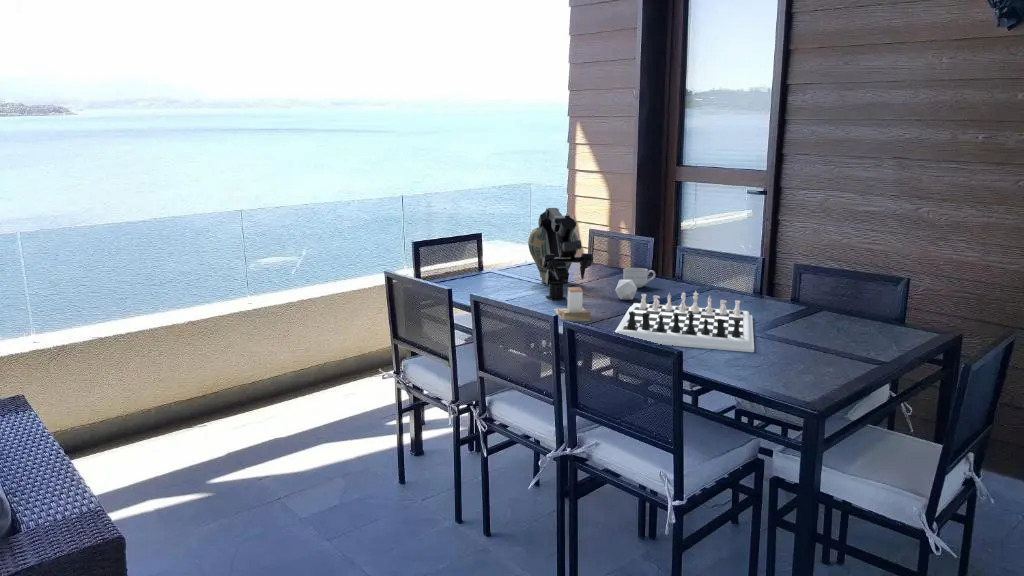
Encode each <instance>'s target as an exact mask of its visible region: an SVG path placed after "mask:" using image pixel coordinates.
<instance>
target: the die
mask: <svg viewBox="0 0 1024 576" xmlns="http://www.w3.org/2000/svg"><path fill="white" fill-rule="evenodd" d="M637 290H638V288H637V287H636V286H635V284H634V282H633V281H632V280H623V279H619V280H618V282H617V286H616V288H615V290H614V291H615V292H616V295H617V296H618V299H619V300H633V299H634V297H635V295H636V293H637Z"/></svg>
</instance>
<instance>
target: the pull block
mask: <svg viewBox="0 0 1024 576" xmlns="http://www.w3.org/2000/svg"><path fill="white" fill-rule="evenodd" d="M583 289H584V288H582V287H581V286H568V287H567V307H566V309H567V313H568V312H582V308H583V293H584V292H583V291H584V290H583Z"/></svg>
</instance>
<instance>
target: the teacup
mask: <svg viewBox="0 0 1024 576" xmlns="http://www.w3.org/2000/svg"><path fill="white" fill-rule="evenodd" d="M622 270H623V274H622V275H623V279H622V280H632V281H633V282H634V284H635V286H636V287H637V289H638V288H644V286H645V285H647V284H649V282H650V281H652V280H653V279H655V277H656V271H655V270H652V269H651V270H649V269H647V268H643V267H642V268H641V267H628V268H627V267H626V268H623V269H622ZM650 273H652V276H651V277H650V278H648V276H649V274H650Z"/></svg>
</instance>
